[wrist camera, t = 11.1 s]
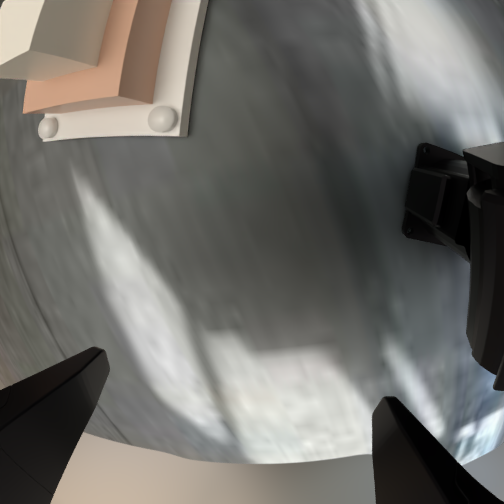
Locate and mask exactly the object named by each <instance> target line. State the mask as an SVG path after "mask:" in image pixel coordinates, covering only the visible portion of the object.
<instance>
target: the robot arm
mask: <svg viewBox="0 0 504 504" xmlns="http://www.w3.org/2000/svg"><path fill="white" fill-rule="evenodd" d="M424 147H426V149H427V153H426V154H425V153H424V151H423V149H424ZM463 155H464V157H463V156H460V155H458V154H455V153H453V152H450V151H448V150H445V149H442V148H440V147H437V146H434V145H432V144H429V143H421V144H419V146H418V150H417V156H416V163H415V168H414V169H413V170H412V173H411V178H410V184H409V189H408V194H407V199H406V203H405V207H406V214H405V218H404V222H403V226H402V233H403V234H404V236H406V237H407V238H411V239H416V240H420V241H425V242H430V243H435V244H439V245H444V246H448V247H449V248H451V249H452V250H453V251H455V252H456V253H457V254H458V255H460V256H461V257H462V258H464V259H465V260H466V261H468V262H469V263H470V291H469V305H468V315H467V328H466V334H467V337H468V340H469V343H470V346H471V348H472V356H473V357H474V359H475V360H476V361H477V362H478V363H479V364H480V365H481V366H482V367H483V368H485V369H486V370H488V371H489V372H491V373H492V374H494V375H497V376H496V379H495V382H494V384H493V389H494V390H498V391H504V142H500V143H494V144H489V145H484V146H478V147H473V148H468V149H464V150H463ZM410 227H411V231H410V232H409V233H407V230H408V228H410ZM109 372H110V366H109V362H108V358H107V354H106V351H105V350H104V349H101V348H98V347H91V348H89V349H87V350H85V351H83V352H81V353H79V354H77V355H74V356H72V357H70V358H68V359H66V360H64V361H62V362H60V363H58V364H56V365H53V366H51V367H49V368H47V369H45V370H43V371H41V372H39V373H36V374H34V375H32V376H30V377H28V378H26V379H24V380H21V381H19V382H17V383H15V384H13V385H12V386H8V387H6V388H4V389H2V390H0V504H50V503H51V500H52V498H53V496H54V495H53V494H54V493H55V491H56V488H57V486H58V483H59V481H60V479H61V477H62V474H63V473H64V470H65V468H66V466H67V464H68V462H69V460H70V457H71V455H72V453H73V451H74V449H75V447H76V445H77V443H78V441H79V439H80V437H81V435H82V433H83V431H84V429H85V427H86V425H87V423H88V421H89V419H90V417H91V415H92V414H93V412H94V409H95V407H96V405H97V403H98V400H99V397H100V395H101V392H102V390H103V387H104V385H105V382H106V380H107V377H108V375H109ZM372 457H373V469H374V480H375V495H376V504H504V502H503V501H501V500H500V499H498V498H497V497H496V496H495V495H493V494H492V493H491V492H489V491H488V490H487V489H486V488H485V487H484V486H482V485H481V484H480V483H479V482H478V481H477V480H476V479H474V478H473V477H472V476H471V475H470V474H469V473H468V472H467V471H466V470H465V469H464V468H463V467H462V466H461V465H460V464H459V463H458V462H457V461H456V459H455V458H454V457H453V456H452V455H451V454H450V453H449V452H448V451H447V450H446V449H445V448H444V447H443V446H442V445H441V444H440V443H439V442H438V440H437V439H436V438H435V437H434V436H433V435H432V434H431V433H430V432H429V431H428V430H427V429H426V428H425V427H424V426H423V425H422V424H421V423H420V422H419V421H418V419H417V418H416V417H415V416H414V415H413V414H412V413H411V412H410V411H409V410H408V409H407V408H406V407H405V406H404V405H403V404H402V403H401V402H400V401H399V400H398V398H396V397H394V396H386V397H383V398H382V399H381V401H380V402H379V404H378V406H377V407H376V408H375V410H374V412H373V415H372Z"/></svg>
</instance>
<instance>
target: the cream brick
mask: <svg viewBox="0 0 504 504" xmlns="http://www.w3.org/2000/svg"><path fill="white" fill-rule="evenodd" d="M112 3H113V0H5V1H4V2H3V4H2V6H1V9H0V78H6V79H21V80H32V81H41V82H43V81H46V80H49V79H53V78H56V77H59V76H63V75H66V74H70V73H74V72H78V71H82V70H86V69H90V68H95V67H97V64H98V59H99V54H100V49H101V44H102V40H103V36H104V32H105V28H106V24H107V20H108V17H109V13H110V10H111V6H112Z"/></svg>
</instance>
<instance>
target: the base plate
mask: <svg viewBox="0 0 504 504" xmlns="http://www.w3.org/2000/svg"><path fill="white" fill-rule="evenodd" d="M208 1H209V0H113V3H112V6H111V10H110V13H109V17H108V20H107V24H106V28H105V32H104V36H103V40H102V44H101V49H100V54H99V59H98V64H97V67H95V68H90V69H86V70H82V71H78V72H74V73H70V74H66V75H63V76H59V77H56V78H53V79H49V80H46V81H43V82H41V81H32V80H27V86H26V92H25V100H24V108H23V114H38V113H45V118H44V119H43V120H42V121H41V122H40V124H39V129H38V132H39V136H40V137H41V138H42V139H43V142H44V141H54V140H64V139H75V138H89V137H109V136H180V137H187V135H188V125H189V116H190V108H191V100H192V92H193V85H194V78H195V71H196V65H197V59H198V53H199V47H200V41H201V36H202V30H203V25H204V20H205V15H206V11H207V6H208Z"/></svg>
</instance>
